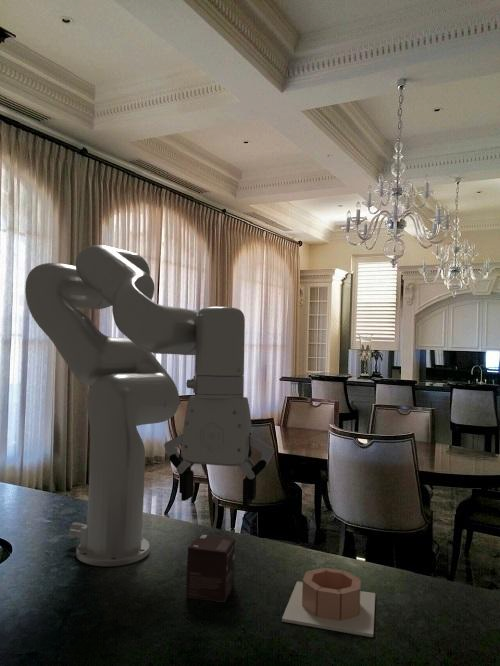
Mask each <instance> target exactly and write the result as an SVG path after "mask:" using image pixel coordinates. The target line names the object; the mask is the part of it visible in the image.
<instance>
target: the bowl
mask: <svg viewBox="0 0 500 666" xmlns="http://www.w3.org/2000/svg"><path fill="white" fill-rule="evenodd" d="M302 582H303V589H302V605H303V607H304V608H305V609H307V610H308V611H309V612H311V613H312V614H313V615H315V616H317V617H321V618H327V619H333V620H341V621H342V620H345V619H348V618H352V617H355V616H358V615H359V613H360V599H361V589H362V588H361V586H362V580H361V579H360V578H359V577H357V576H356V575H355V574H352V573H351V572H348V571H347V570H346V571H345V570H343V569H334V568H329V567H321V568H320V567H319V568H316V569H312V570H308V571H306V572H305V573H304V576H303V578H302Z"/></svg>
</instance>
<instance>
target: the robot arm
mask: <svg viewBox="0 0 500 666" xmlns="http://www.w3.org/2000/svg"><path fill="white" fill-rule="evenodd" d="M74 264H75V265H72V264H67V263H66V264H65V263H59V262H48V263H42V264H38V265H35V267H33V268H32V269H31V270H30V271H29V273H28V275H27V276H26V277H27V278H26V280H25V290H24V291H25V300H26V305H27V308H28V310H29V313H30V315H31V317H32V318H33V320H34V321H35V323H36V324H37V325H38V327H39V328H40V329H41V330H42V332H43V333H44V334H45V335H46V336H47V337H48V338H49V340H51V342H52V343H53V345H54V347H55V348H56V350H57V351H58V353H59V354H60V356H61V357H62V359H63V360H64V362H65V363H66V364H65V365H67V367H68V368H69V370H70V371H71V374H73V375H74V377H75V378H76V379H77V380H78V381H79V382H80V383H82V384H83V385H85V386H86V385H87V386H90V387H89V389H88V392H87V395H86V396H87V397H86V406H87V408H86V409H87V414H88V415H87V416H88V422H89V431H90V434H89V435H90V454H89V455H90V456H89V478H88V481H89V482H88V497H87V498H88V499H87V515H86V516H87V517H86V519H87V520H86V524H85V523H82V522H77V521H76V522H75V521H74V522H72V523H71V525H70V527H69V530H68V534H67V535H68V537H69V538H73V539H79V540H80V542H79V544H78V546H77V547H76V551H75V555H76V559H78V560H79V561H80V562H82V563H84V564H85V565H86V564H87V565H89V566H95V567H119V566H126V565H130V564H133V563H134V564H135V563H136V562H139V561H140V560H143V559H145V558H146V557H147V556H148V555H149V554H150V552H151V551H150V550H151V548H150V547H151V544H150V542H149V541H148V540H147V539H146V538H144V537H142V536H143V517H144V516H143V515H144V512H143V511H144V495H145V494H144V493H145V491H144V490H145V472H146V471H145V469H146V449H145V445H144V442H143V439H142V437H141V435H140V433H139V430H138V428H137V427H138V426H143V425H151V424H152V425H153V424H158V423H163V422H166V421H169V420H170V419H171V418H173V417H174V416H175V414H176V413H177V411H178V409H179V404H180V395H179V391H178V387H177V385H176V383H175V381H174V380H173V379H172V377H171V376H170V374H169V373H168V371H166V369H165V368H164V367H163V366H162V364H161V363H160V362H159V360H158V359H157V358H156V356H154V354H159V355H180V356H194V357H195V359H194V361H195V362H194V364H195V365H194V375H193V378H191V379H187V380H186V383H185V385H186V388H187V389H191V390H193V391H192V392H193V393H194V395H191V396H188V399H187V400H188V401H187V404H186V410H185V414H184V415H185V416H184V421H183V429H182V431H183V432H182V434H180V435H178V436H176V437H174V438H172V439H170V440H168V441H166V442H164V445H163V447H164V449H165V451H166V454H167V455H168V458H169V462H170V463H171V464H172V465H173V466H174V468H175V469H176V472H177V474H179V482H178V483H179V487H178V488H179V491H178V492H179V493H180V494H181V501H182V502H187V500H189V499H191V498H192V497H193V496H194V475H195V474H194V473H195V472H194V470H193V469H192V468H193V466H194V465H196V464H197V465H208V466H210V465H211V466H224V467H240V469H241V471H242V472H243V473H244V475H245V478H243V480H242V506H243V507H249V506H250V505H251V504H253V501H254V500H256V498H257V497H256V496H257V476H258V475H259V474H260V473H261V472H262V471H263V470H264V469H265V468H266V467H267V466H268V464H269V463H270V461H271V459H272V458H273V457H272V456H273V455H274V453H275V448H274V447H273V446H271V445H269V444H268V443H266V442H265V441H262V439H260V438H258V437H255V436H254V435H253V428H252V419H251V417H252V416H251V410H250V403H249V399H248V397H247V396H244V394H245V393H244V392H245V391H244V389H245V388H244V387H245V386H244V385H245V384H244V383H245V382H244V381H245V337H246V336H245V333H246V332H245V330H246V329H245V328H246V319H245V315H244V313H243V311H242V310H241V309H239V308H237V307H231V306H230V307H229V306H208V307H203V308H201V309H200V310H195V309H188V308H182V307H177V306H171V305H169V306H168V305H161V304H159V303H157V302H155V301H154V300H153V298H154V295H155V283H154V279H153V278H152V276H151V275H150V274H151V271H150V267H149V264H148V263H147V260H146V259H145V258H144V257H143V256H141V254H138V253H136V252H132V251H129V250H126V249H121V248H117V247H112V246H109V245H105V244H104V245H103V244H93V245H89V246H87V247H85V248H84V249H83V248H82V250H80V251H79V253H78V254H77V256H76V259H75V263H74ZM110 307H111V309H112V316H113V321H114V324H115V326H116V328H117V329H118V330H119V331H120V332H121V333H122V334H123V335H124V336H125V337H113V336H108V335H105V334H103V333H102V332H101V331H100V330H99V328H98V327H97V326H96V324H95V323H94V322H93V320H92V319H91V318H90V317H89V316H88V315H86V314H85V313H84V312H82V311H81V310H80V309H85V310H86V309H88V310H89V309H90V310H104V309H107V308H110ZM78 308H80V309H78ZM180 445H181V454H180V453H179V451H178V446H180ZM253 449H255V450H257V451H258V452H260V453H261V456H260V459H259V461H257V463H256V464H255V463H254V461H253V460H252V455H253Z"/></svg>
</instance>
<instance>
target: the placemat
mask: <svg viewBox="0 0 500 666" xmlns="http://www.w3.org/2000/svg"><path fill="white" fill-rule="evenodd" d="M294 585H295V586H294V589H293V591H292V593H291V595H290V597H289V600H288V603H287V604H286V608H285V610H284V611H283V612H284V613H283V615H282V617H281V622H283V623H290V624H293V625H294V624H296V625H299V626H306V627H312V628H318V629H323V630H329V631H335V632H341V633H347V634H351V635H357V636H363V637H369V638H374V631H375V630H374V629H375V607H376V606H375V605H376V593H375V592H369V591H364V590H362V591H361V599H360V613H359V615H358V616H355V617H352V618H348V619H345V620H342V621H341V620H333V619H327V618H321V617H317V616H315V615H313V614H312V613H311V612H309V611H308V610H307V609H305V608H304V607H303V605H302V589H303V581H298V580H297V581H296V582H295V584H294Z"/></svg>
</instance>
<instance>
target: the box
mask: <svg viewBox="0 0 500 666" xmlns="http://www.w3.org/2000/svg"><path fill="white" fill-rule="evenodd" d="M235 544H236V538H234V537H228V536H227V537H226V536H216V535H207V534H201V535H200V534H199V535H198V536H197V537H196V538H195V539H194V540H192V543H191V544H190V545H189V546H188V547H187V562H186V564H187V565H186V586H185V588H186V589H185V590H186V591H185V597H186V598H187V599H188V598H189V599H195V600H203V601H211V602H219V603H225V602H226V600H227V599H228V597H229V596H230V594H231V592H232V590H233V588H234V586H235V553H236V552H235V551H236V550H235V549H236V545H235Z"/></svg>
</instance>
